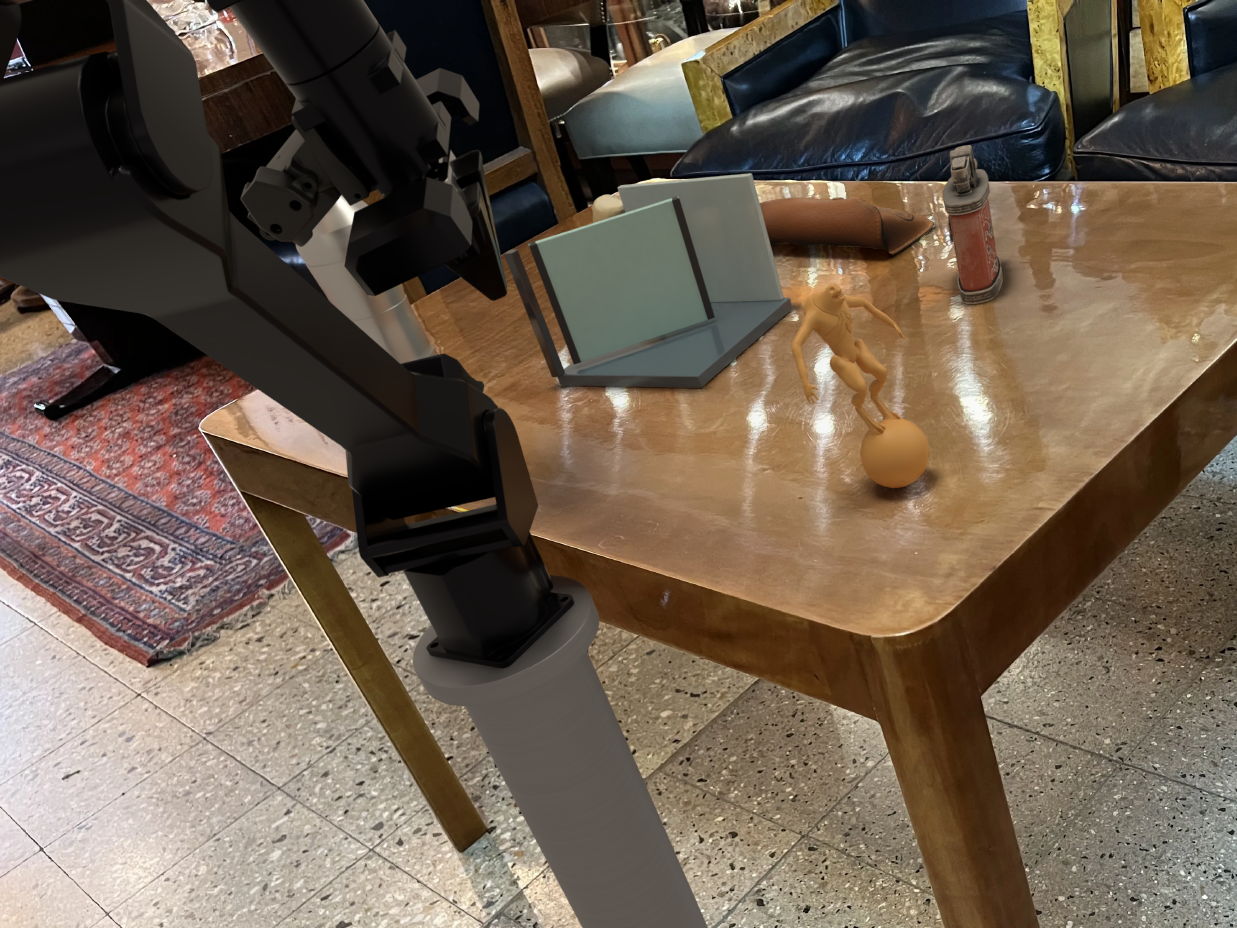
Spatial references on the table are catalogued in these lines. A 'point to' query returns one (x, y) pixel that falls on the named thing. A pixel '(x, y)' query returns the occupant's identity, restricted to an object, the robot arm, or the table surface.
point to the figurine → (863, 388)
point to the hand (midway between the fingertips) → (500, 295)
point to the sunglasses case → (841, 223)
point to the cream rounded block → (607, 207)
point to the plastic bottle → (375, 315)
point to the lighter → (972, 228)
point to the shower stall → (732, 277)
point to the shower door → (623, 279)
